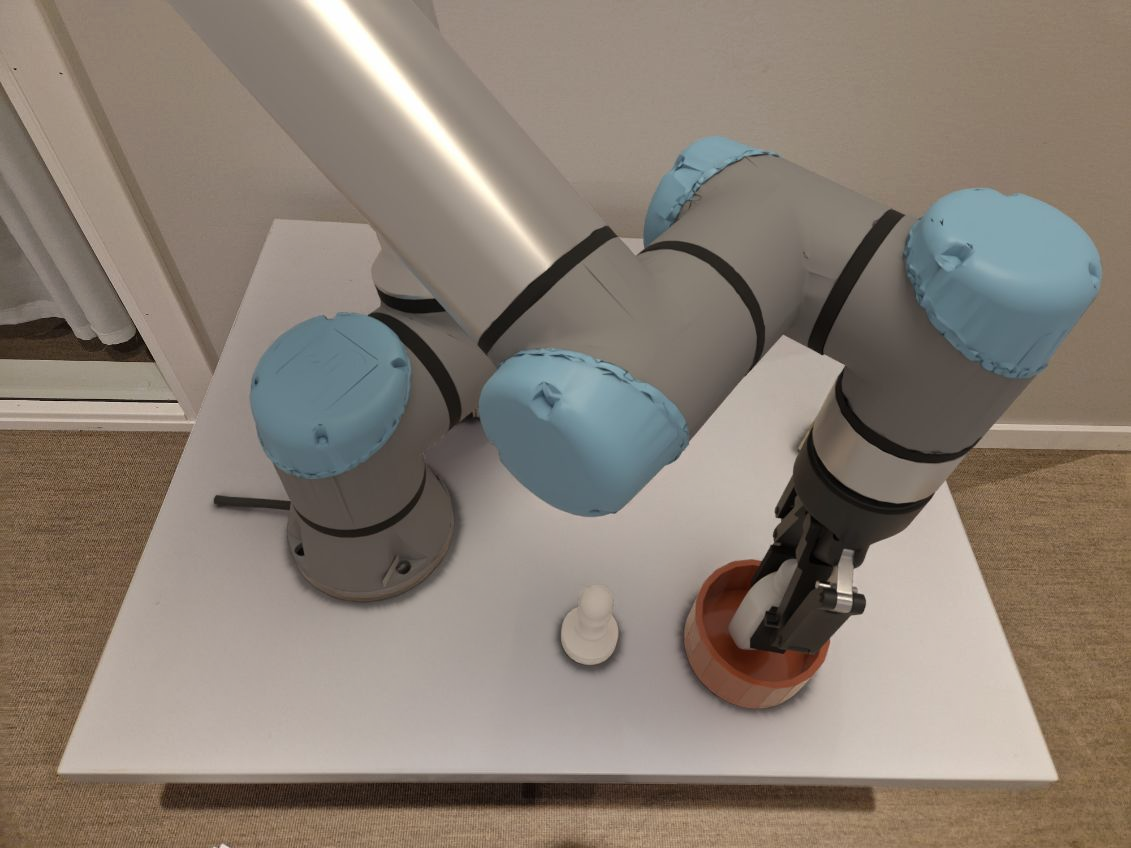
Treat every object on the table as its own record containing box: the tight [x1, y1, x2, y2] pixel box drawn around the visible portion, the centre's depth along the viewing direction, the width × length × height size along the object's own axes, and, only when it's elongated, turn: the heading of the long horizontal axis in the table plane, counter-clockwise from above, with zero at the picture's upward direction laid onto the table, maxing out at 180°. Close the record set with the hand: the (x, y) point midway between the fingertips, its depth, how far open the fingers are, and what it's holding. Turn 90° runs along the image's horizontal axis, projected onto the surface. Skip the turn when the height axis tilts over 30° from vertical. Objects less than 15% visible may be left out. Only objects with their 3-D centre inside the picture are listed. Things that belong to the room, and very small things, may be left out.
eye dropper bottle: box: [728, 559, 797, 650], centre depth 57 cm, size 4×6×12 cm
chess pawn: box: [560, 584, 619, 666], centre depth 61 cm, size 5×5×9 cm
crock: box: [683, 558, 831, 710], centre depth 63 cm, size 11×11×6 cm
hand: (766, 616), depth 60 cm, fingers closed on eye dropper bottle, 4 cm apart
